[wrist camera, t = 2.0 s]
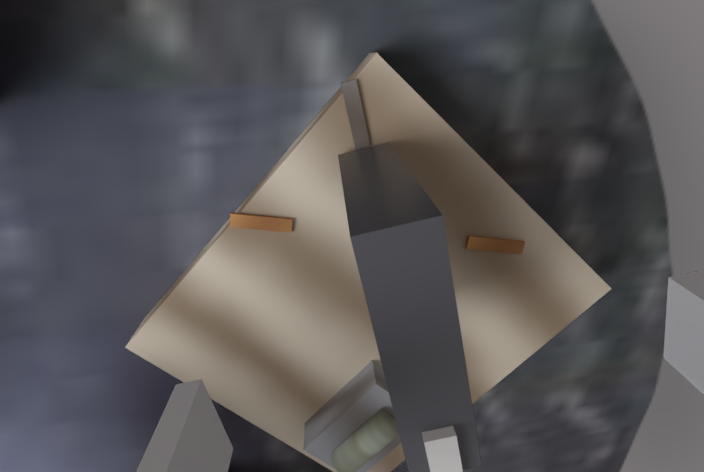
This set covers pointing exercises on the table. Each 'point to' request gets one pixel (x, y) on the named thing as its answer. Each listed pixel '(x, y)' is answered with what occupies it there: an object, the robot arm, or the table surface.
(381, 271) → the dark grey block
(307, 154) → the instrument base
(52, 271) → the table surface
